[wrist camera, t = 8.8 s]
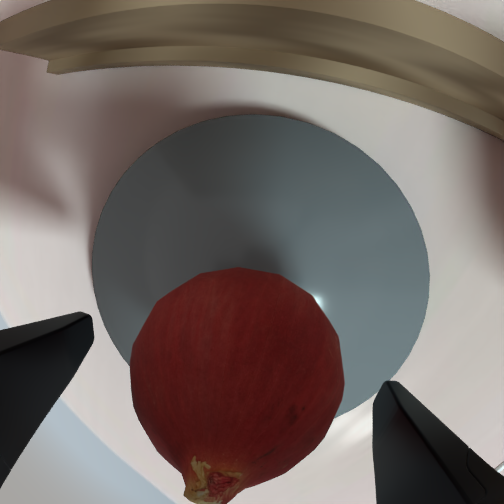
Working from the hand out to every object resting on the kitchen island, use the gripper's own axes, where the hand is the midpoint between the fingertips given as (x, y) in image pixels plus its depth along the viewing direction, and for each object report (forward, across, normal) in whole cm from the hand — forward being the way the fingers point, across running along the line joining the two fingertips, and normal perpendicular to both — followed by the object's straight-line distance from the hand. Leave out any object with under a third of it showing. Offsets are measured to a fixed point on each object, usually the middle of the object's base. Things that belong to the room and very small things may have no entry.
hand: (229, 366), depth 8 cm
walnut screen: (+5, 0, -10) cm, 11 cm away
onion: (+4, 0, 0) cm, 4 cm away
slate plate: (+5, 0, 0) cm, 5 cm away
